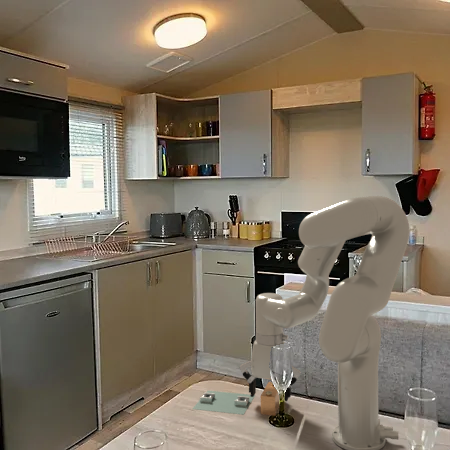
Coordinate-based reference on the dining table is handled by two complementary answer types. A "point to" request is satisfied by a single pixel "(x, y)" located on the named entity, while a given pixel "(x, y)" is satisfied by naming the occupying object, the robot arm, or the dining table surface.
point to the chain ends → (239, 402)
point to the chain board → (224, 403)
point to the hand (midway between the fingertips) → (269, 397)
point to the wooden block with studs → (269, 400)
